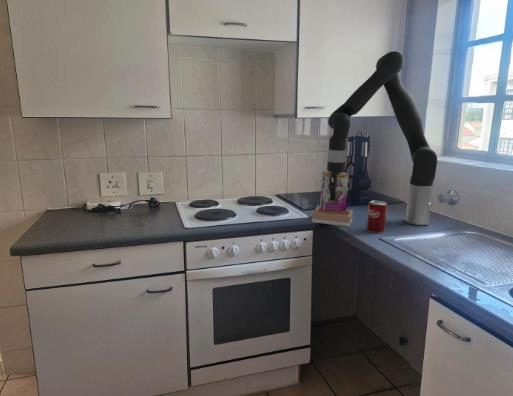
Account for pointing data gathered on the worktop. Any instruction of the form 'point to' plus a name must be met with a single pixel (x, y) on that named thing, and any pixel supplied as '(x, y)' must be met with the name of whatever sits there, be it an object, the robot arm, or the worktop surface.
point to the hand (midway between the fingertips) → (333, 198)
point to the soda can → (376, 216)
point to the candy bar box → (341, 192)
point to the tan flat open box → (332, 217)
